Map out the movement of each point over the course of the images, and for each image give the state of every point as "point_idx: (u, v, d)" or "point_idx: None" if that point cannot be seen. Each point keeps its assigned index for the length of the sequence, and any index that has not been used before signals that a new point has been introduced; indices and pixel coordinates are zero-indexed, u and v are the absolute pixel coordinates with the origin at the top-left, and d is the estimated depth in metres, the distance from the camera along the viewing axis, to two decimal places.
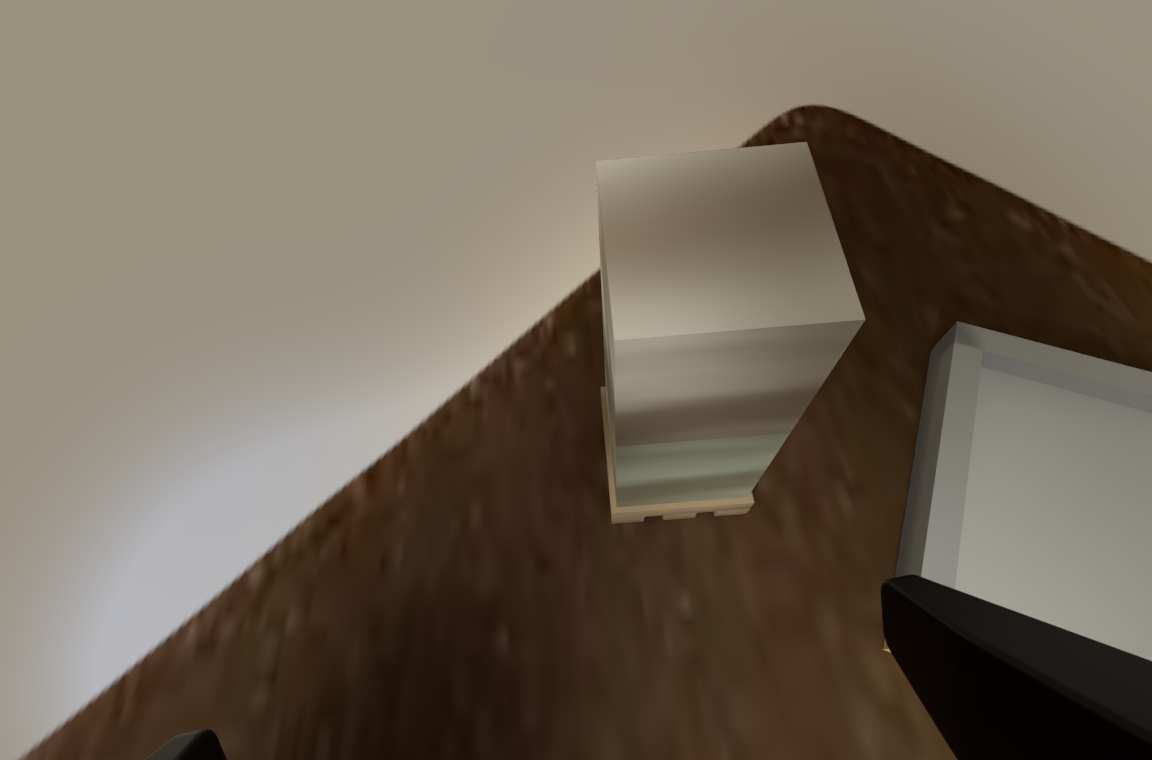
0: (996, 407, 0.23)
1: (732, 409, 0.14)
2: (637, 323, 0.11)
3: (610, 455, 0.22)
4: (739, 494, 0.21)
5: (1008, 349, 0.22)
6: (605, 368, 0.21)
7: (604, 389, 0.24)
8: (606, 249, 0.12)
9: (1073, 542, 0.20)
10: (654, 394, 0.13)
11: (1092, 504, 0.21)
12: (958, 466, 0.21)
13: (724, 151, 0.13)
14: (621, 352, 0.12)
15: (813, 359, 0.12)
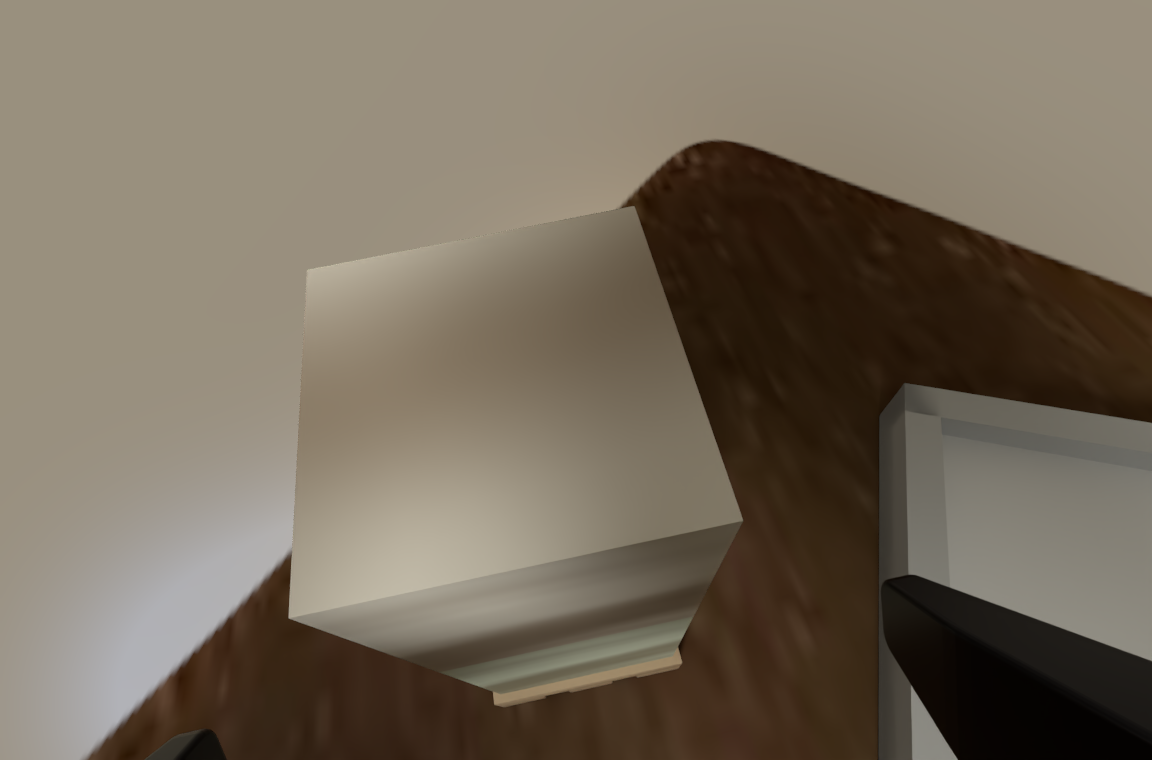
0: (968, 486, 0.18)
1: (586, 620, 0.09)
2: (335, 575, 0.06)
3: None
4: (660, 657, 0.15)
5: (971, 412, 0.18)
6: None
7: None
8: (301, 426, 0.07)
9: None
10: (441, 636, 0.08)
11: (1109, 606, 0.16)
12: (936, 580, 0.16)
13: (507, 234, 0.08)
14: (322, 624, 0.06)
15: (680, 566, 0.07)
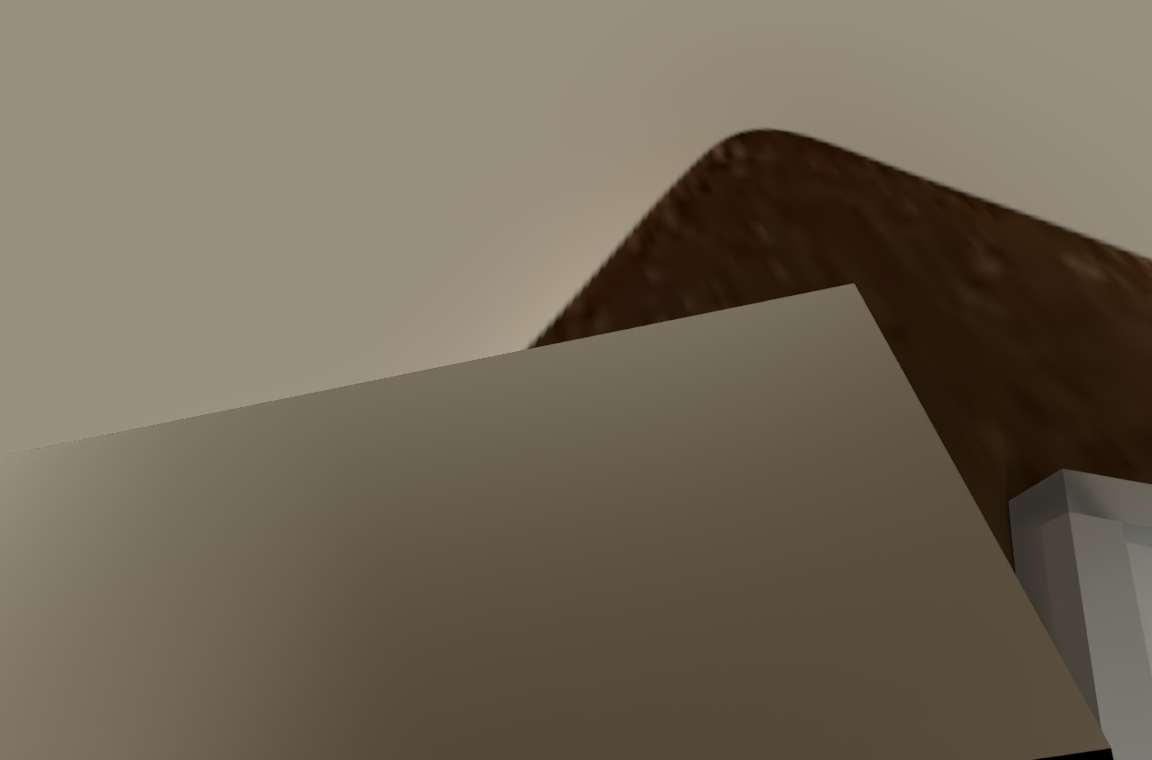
0: None
1: None
2: None
3: None
4: None
5: None
6: None
7: None
8: None
9: None
10: None
11: None
12: None
13: (499, 367, 0.03)
14: None
15: None
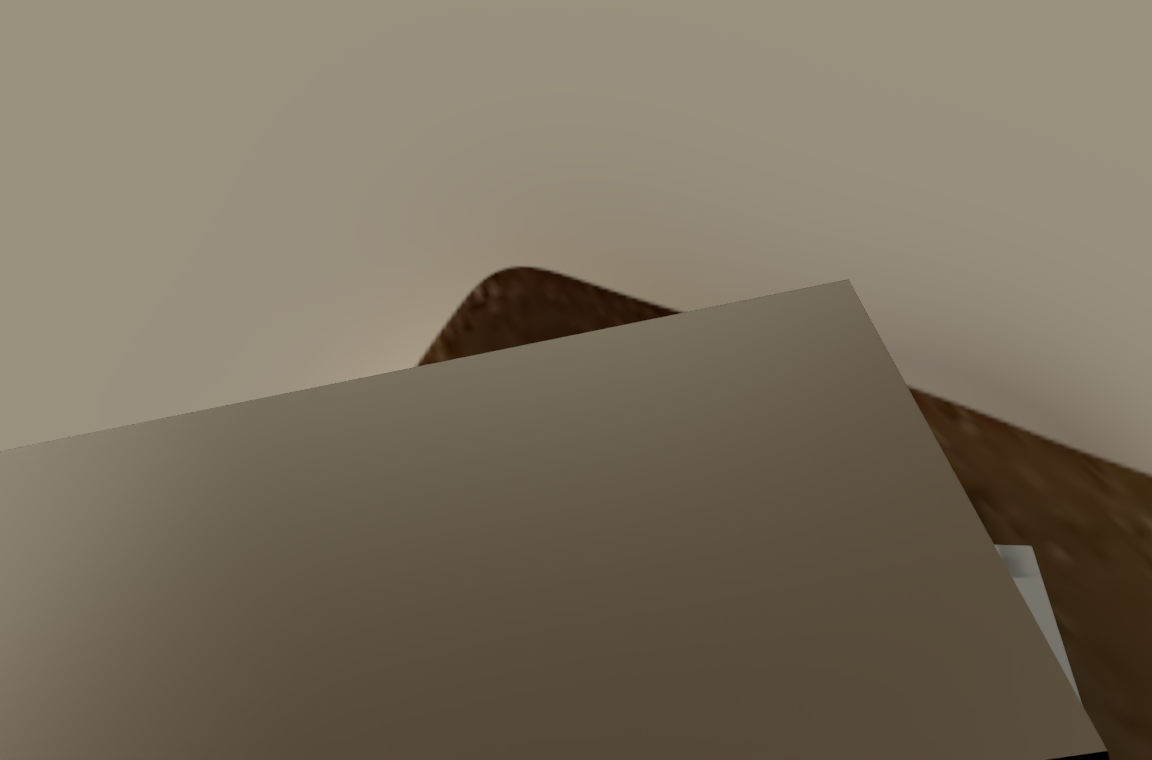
0: None
1: None
2: None
3: None
4: None
5: None
6: None
7: None
8: None
9: None
10: None
11: None
12: None
13: (495, 363, 0.03)
14: None
15: None
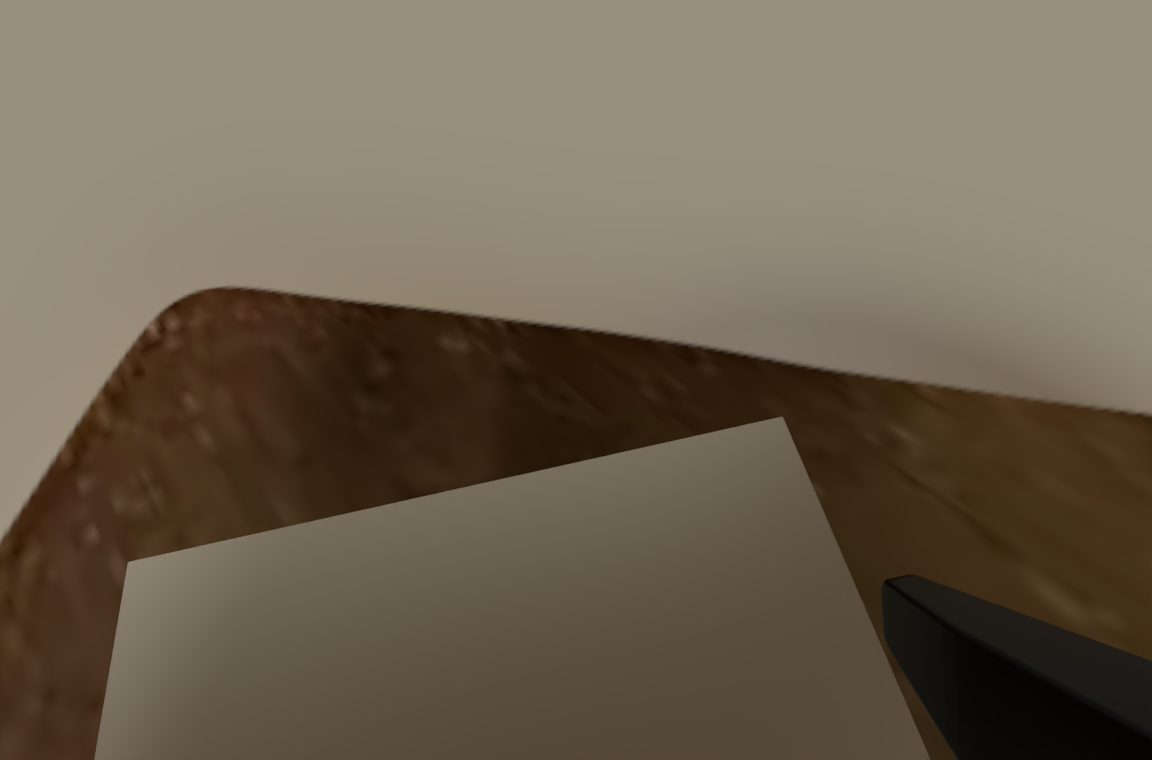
0: None
1: None
2: None
3: None
4: None
5: None
6: None
7: None
8: None
9: None
10: None
11: None
12: None
13: (533, 481, 0.04)
14: None
15: None
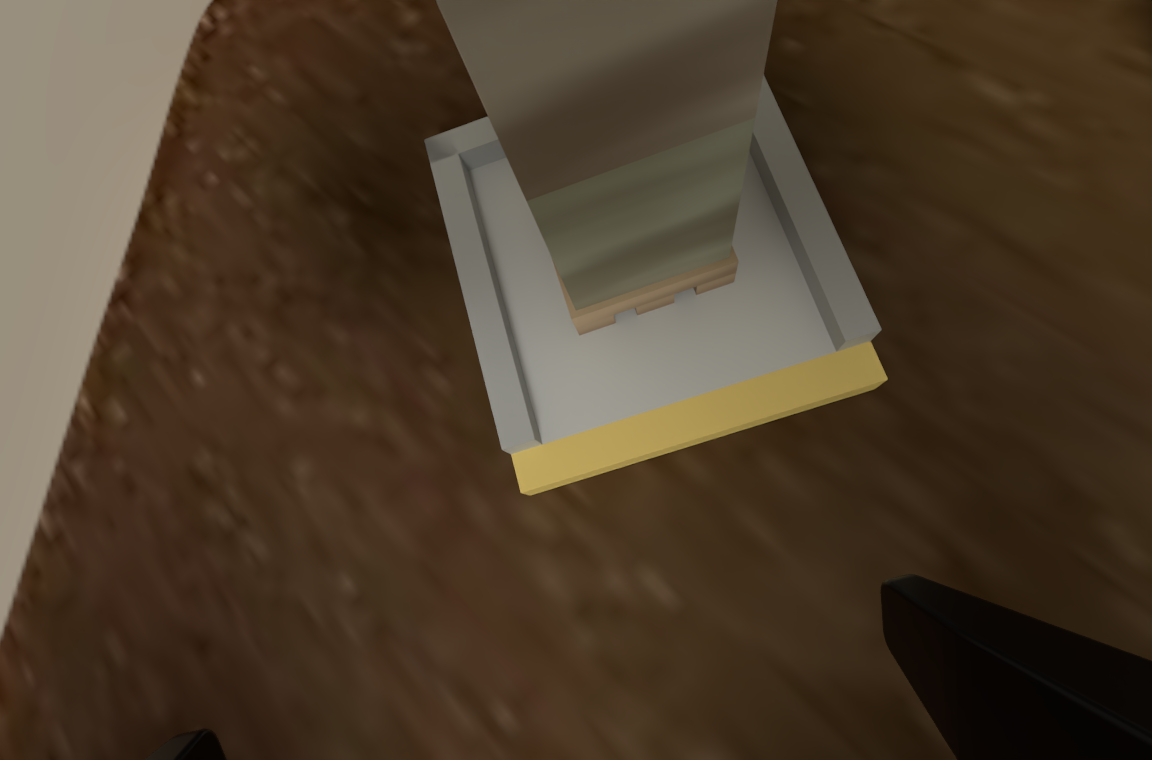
0: (509, 198, 0.21)
1: (659, 80, 0.10)
2: None
3: None
4: (718, 253, 0.17)
5: (480, 136, 0.20)
6: None
7: None
8: None
9: None
10: (532, 70, 0.09)
11: None
12: (483, 287, 0.19)
13: None
14: None
15: None
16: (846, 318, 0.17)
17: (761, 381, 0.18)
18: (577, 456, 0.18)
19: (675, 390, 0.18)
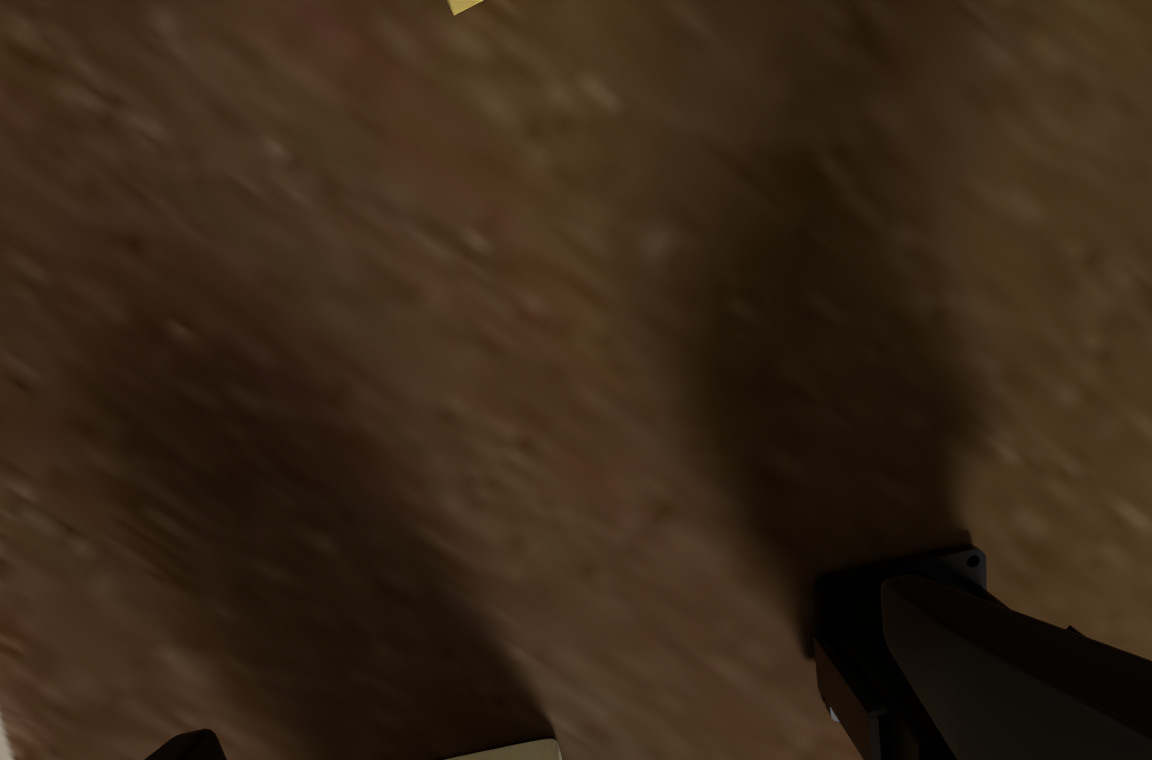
0: None
1: None
2: None
3: None
4: None
5: None
6: None
7: None
8: None
9: None
10: None
11: None
12: None
13: None
14: None
15: None
16: None
17: None
18: None
19: None
